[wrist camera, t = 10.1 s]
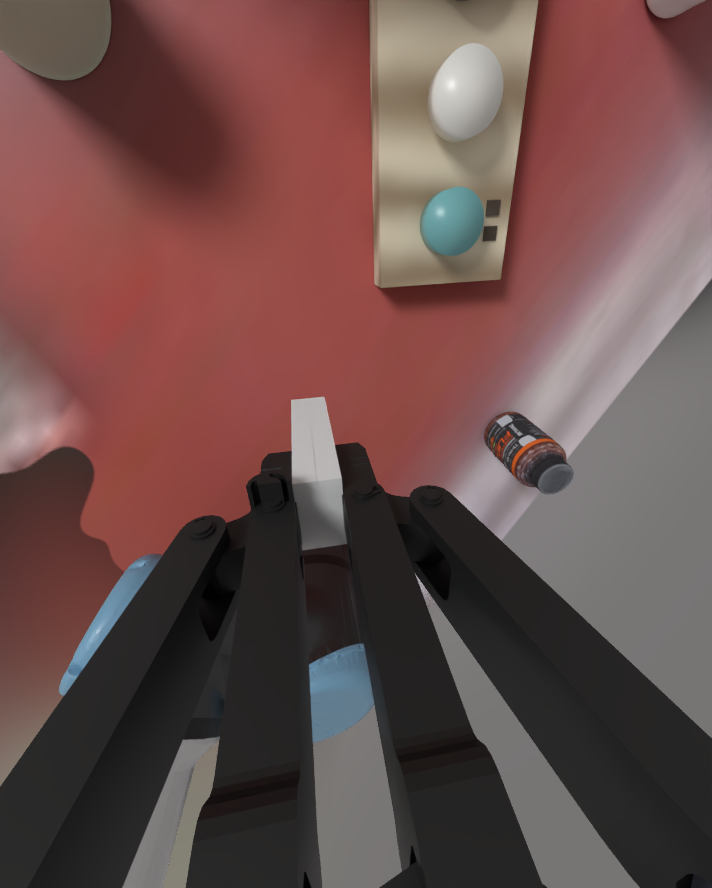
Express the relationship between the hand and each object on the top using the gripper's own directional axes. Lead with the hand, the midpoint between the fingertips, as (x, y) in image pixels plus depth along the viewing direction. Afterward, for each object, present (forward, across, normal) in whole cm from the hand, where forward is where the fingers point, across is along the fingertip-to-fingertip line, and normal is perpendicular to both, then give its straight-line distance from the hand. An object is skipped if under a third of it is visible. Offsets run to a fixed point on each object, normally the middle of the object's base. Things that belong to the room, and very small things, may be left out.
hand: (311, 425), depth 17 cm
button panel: (+24, -14, -16) cm, 32 cm away
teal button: (+21, -14, -8) cm, 26 cm away
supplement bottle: (+25, -25, +16) cm, 39 cm away
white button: (+20, -14, -16) cm, 29 cm away
